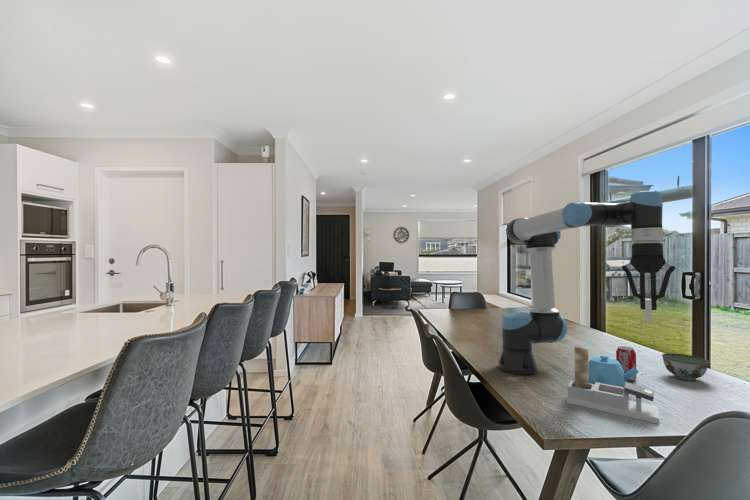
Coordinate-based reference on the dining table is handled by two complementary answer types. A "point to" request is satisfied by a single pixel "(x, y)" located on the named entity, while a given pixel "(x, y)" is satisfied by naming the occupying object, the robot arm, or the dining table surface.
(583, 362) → the tan banded rod
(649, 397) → the plate
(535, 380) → the dining table surface
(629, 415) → the grey slotted holder
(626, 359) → the beverage can
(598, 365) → the teapot
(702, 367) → the bowl
